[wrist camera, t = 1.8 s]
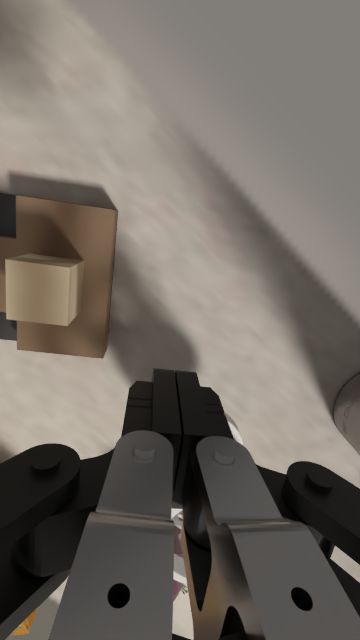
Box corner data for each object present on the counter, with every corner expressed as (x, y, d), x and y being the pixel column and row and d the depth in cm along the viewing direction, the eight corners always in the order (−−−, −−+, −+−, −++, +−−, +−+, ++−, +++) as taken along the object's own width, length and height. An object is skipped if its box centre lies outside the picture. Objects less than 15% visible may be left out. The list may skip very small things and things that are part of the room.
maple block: (84, 260, 24) (69, 267, 20) (81, 310, 25) (67, 326, 21) (30, 253, 24) (5, 259, 20) (29, 304, 25) (6, 319, 21)
